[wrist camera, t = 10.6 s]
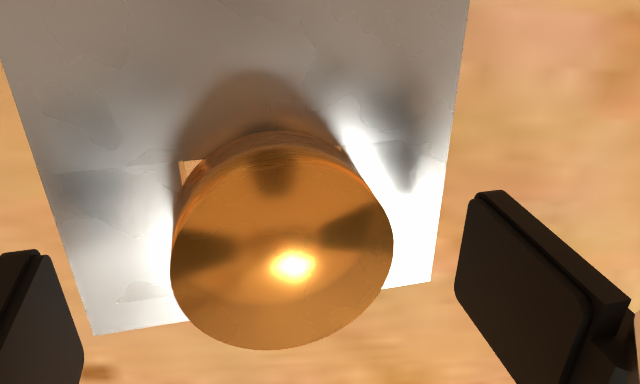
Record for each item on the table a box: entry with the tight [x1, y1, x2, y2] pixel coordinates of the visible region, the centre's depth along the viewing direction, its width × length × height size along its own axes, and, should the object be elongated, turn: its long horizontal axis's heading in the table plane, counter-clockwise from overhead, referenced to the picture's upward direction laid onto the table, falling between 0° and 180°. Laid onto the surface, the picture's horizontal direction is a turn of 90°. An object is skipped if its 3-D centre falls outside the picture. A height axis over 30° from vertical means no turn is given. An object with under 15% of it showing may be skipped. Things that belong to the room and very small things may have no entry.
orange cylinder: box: [170, 131, 394, 350], centre depth 15 cm, size 5×5×10 cm
